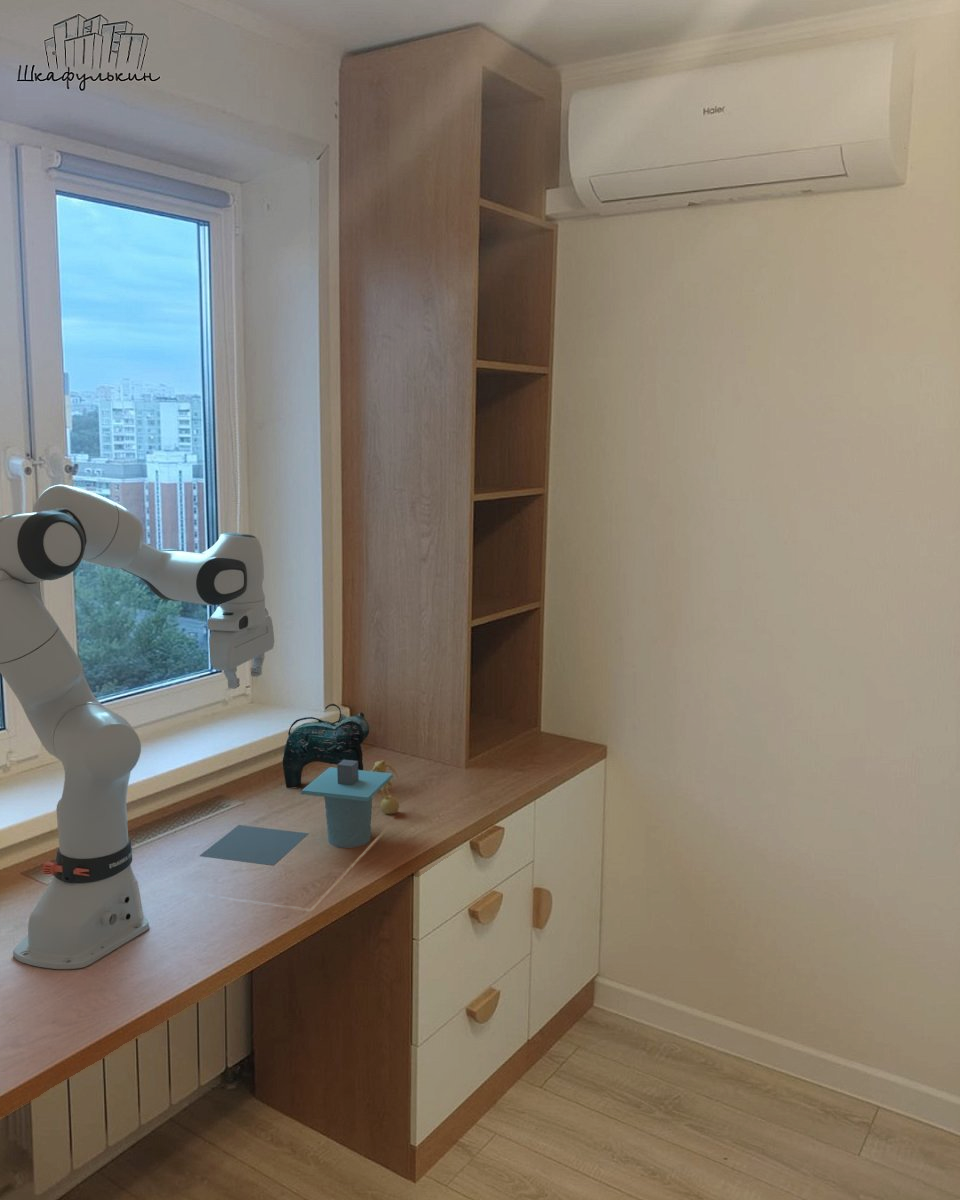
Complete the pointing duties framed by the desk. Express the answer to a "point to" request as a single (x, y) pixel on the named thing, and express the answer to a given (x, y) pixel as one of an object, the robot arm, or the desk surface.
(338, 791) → the lid
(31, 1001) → the desk surface
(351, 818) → the blue grey bin
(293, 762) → the ceramic cat
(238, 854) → the mat
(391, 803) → the figurine
